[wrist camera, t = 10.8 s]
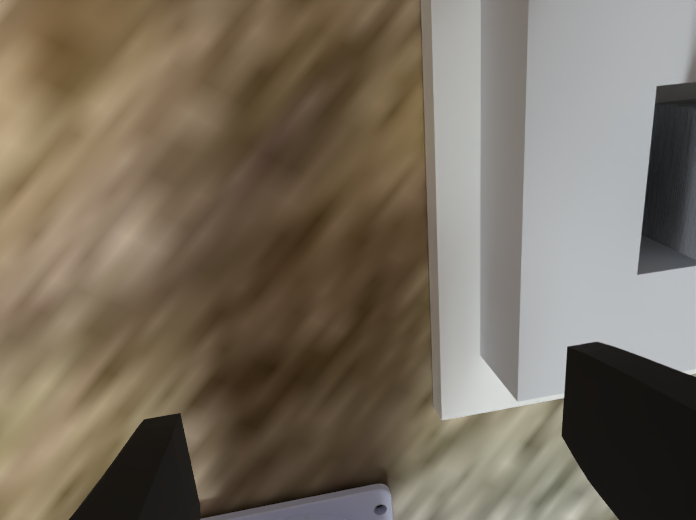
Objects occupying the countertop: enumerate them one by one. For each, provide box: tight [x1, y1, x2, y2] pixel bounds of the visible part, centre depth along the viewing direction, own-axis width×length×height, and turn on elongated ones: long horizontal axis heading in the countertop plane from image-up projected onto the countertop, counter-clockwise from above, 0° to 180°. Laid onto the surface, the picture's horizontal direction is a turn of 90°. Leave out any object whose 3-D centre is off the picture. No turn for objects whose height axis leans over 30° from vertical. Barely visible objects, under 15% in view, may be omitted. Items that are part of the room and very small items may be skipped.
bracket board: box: [421, 0, 696, 420], centre depth 19 cm, size 18×16×4 cm
